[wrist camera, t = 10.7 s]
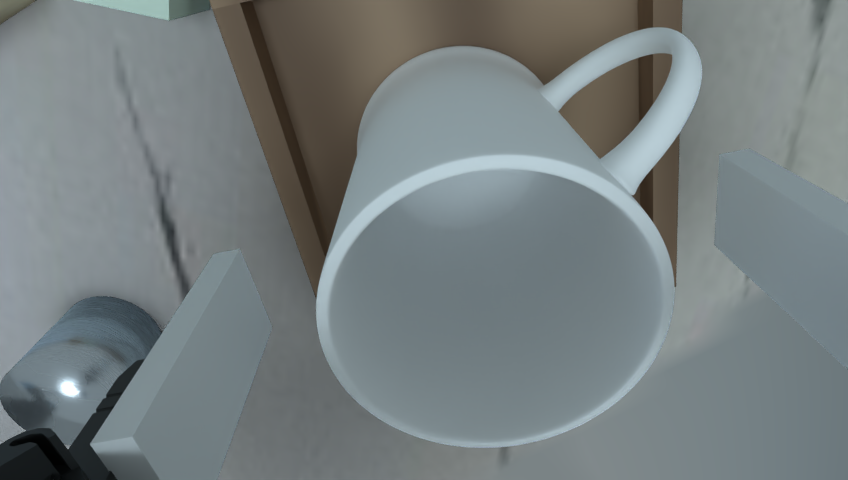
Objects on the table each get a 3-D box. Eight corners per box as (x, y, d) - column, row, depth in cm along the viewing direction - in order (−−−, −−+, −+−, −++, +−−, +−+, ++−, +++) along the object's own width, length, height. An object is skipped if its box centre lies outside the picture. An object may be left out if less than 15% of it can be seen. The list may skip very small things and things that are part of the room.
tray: (339, 313, 28) (332, 344, 26) (224, -25, 20) (201, -23, 18) (654, 258, 26) (675, 286, 24) (654, -126, 19) (685, -136, 17)
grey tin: (93, 378, 30) (37, 451, 25) (46, 305, 27) (-25, 372, 23) (179, 363, 29) (136, 436, 25) (138, 288, 27) (83, 353, 23)
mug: (548, -72, 19) (714, -103, 8) (668, 110, 22) (900, 258, 11) (315, 142, 22) (222, 311, 12) (446, 273, 26) (465, 500, 15)
